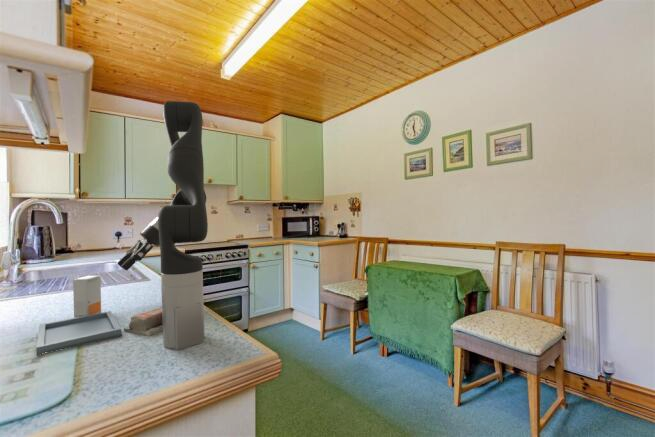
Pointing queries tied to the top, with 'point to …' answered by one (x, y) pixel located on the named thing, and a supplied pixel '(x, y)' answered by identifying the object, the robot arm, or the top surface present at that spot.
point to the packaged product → (146, 323)
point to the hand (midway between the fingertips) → (121, 267)
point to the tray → (76, 332)
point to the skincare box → (87, 296)
